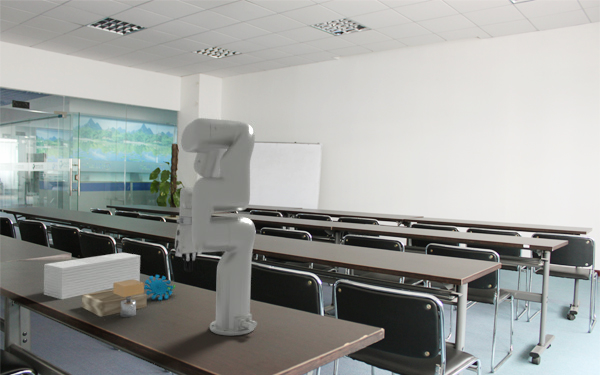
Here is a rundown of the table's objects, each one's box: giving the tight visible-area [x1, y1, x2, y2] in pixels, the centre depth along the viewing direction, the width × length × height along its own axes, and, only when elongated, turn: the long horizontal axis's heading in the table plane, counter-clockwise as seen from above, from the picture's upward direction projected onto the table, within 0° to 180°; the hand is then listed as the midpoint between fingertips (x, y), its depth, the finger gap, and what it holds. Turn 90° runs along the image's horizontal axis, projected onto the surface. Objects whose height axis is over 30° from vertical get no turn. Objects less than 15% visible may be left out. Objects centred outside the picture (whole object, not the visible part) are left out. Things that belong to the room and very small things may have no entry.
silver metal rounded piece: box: [119, 296, 137, 318], centre depth 137 cm, size 4×4×6 cm
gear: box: [144, 274, 176, 301], centre depth 157 cm, size 11×6×10 cm
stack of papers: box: [43, 252, 141, 300], centre depth 168 cm, size 32×11×11 cm, turn 149°
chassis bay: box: [81, 288, 148, 318], centre depth 144 cm, size 13×15×4 cm
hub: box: [112, 279, 145, 297], centre depth 136 cm, size 6×6×3 cm
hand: (188, 270), depth 165 cm, fingers closed
